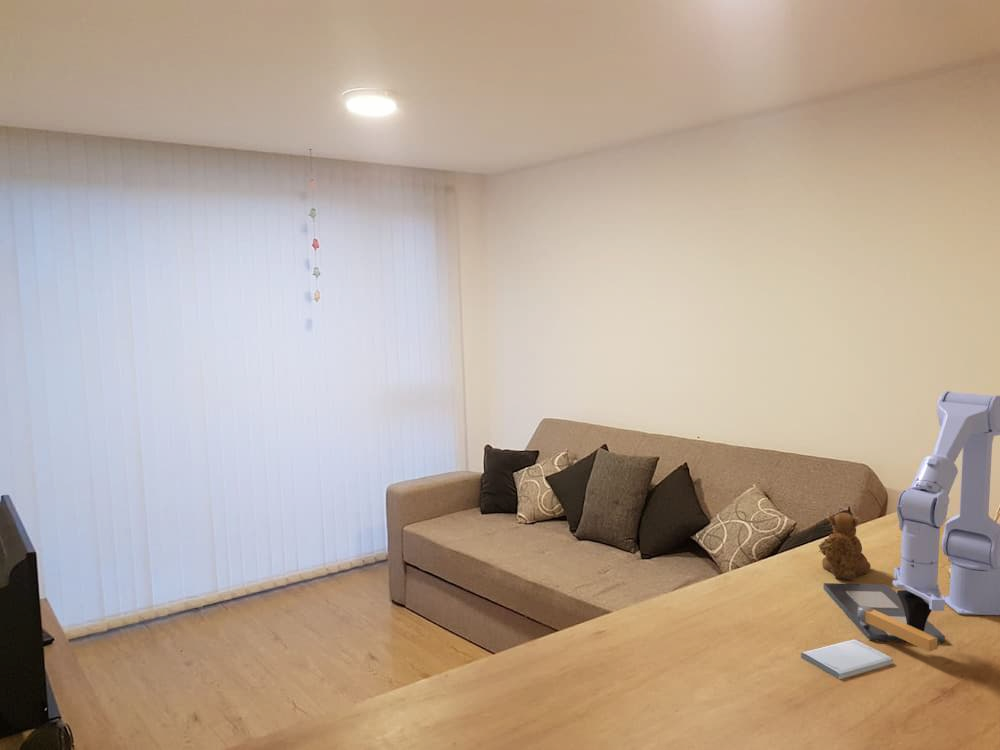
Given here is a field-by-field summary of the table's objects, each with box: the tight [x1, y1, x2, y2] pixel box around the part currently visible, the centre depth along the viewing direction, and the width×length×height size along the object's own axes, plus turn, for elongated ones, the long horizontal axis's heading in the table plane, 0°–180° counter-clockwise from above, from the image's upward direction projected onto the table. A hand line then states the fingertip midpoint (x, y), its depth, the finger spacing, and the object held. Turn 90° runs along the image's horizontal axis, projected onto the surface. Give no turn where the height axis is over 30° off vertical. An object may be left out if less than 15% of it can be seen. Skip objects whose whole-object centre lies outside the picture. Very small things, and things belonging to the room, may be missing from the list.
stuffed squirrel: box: [817, 512, 871, 581], centre depth 168 cm, size 10×14×13 cm
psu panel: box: [823, 582, 946, 643], centre depth 147 cm, size 13×24×2 cm, turn 176°
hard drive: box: [800, 638, 894, 680], centre depth 129 cm, size 2×8×12 cm
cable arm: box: [857, 606, 938, 652], centre depth 134 cm, size 15×3×2 cm, turn 24°
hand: (915, 633), depth 133 cm, fingers closed, pressing on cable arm
